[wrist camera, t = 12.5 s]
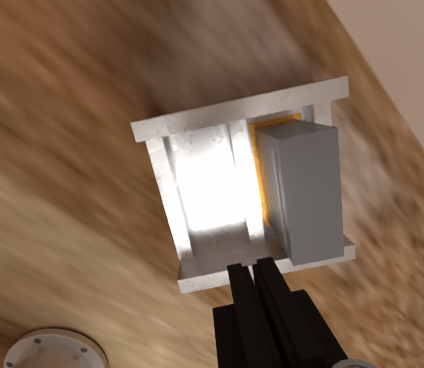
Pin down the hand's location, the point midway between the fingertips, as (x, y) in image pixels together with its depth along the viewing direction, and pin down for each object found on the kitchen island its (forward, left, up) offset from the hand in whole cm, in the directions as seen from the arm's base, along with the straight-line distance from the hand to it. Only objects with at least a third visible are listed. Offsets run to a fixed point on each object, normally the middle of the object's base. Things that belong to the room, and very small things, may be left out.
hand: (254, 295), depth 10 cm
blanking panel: (-1, -6, -17) cm, 18 cm away
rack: (-2, -2, -19) cm, 19 cm away
